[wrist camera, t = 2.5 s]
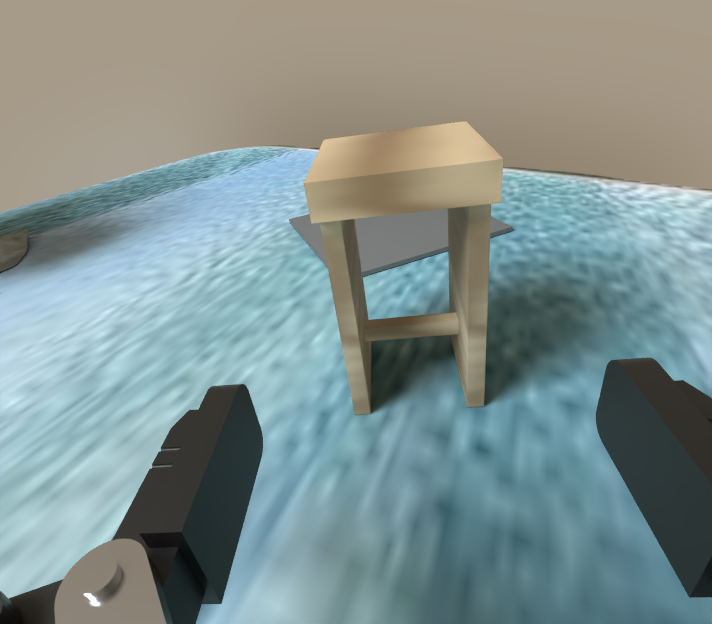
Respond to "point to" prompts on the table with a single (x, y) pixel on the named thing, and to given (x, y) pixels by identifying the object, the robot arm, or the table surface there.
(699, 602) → the table surface
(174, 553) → the robot arm
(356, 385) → the pine stool
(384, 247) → the charcoal mat
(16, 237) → the rose bouquet
